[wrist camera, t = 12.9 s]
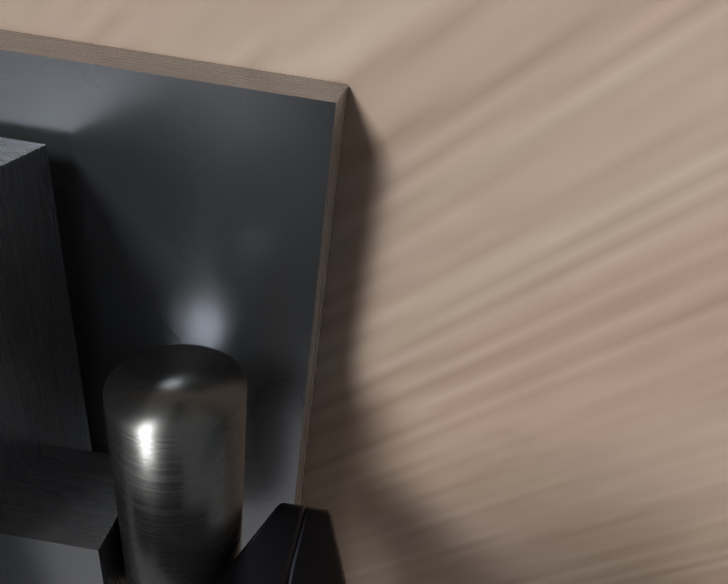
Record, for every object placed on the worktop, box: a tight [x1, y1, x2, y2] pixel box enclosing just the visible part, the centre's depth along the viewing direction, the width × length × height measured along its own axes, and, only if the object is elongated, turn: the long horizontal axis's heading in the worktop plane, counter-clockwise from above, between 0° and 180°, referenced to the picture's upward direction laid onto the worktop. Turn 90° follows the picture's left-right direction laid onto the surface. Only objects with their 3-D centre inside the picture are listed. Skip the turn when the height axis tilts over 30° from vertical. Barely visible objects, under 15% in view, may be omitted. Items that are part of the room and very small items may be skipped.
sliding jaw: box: [0, 137, 247, 584], centre depth 8 cm, size 6×10×4 cm, turn 172°
